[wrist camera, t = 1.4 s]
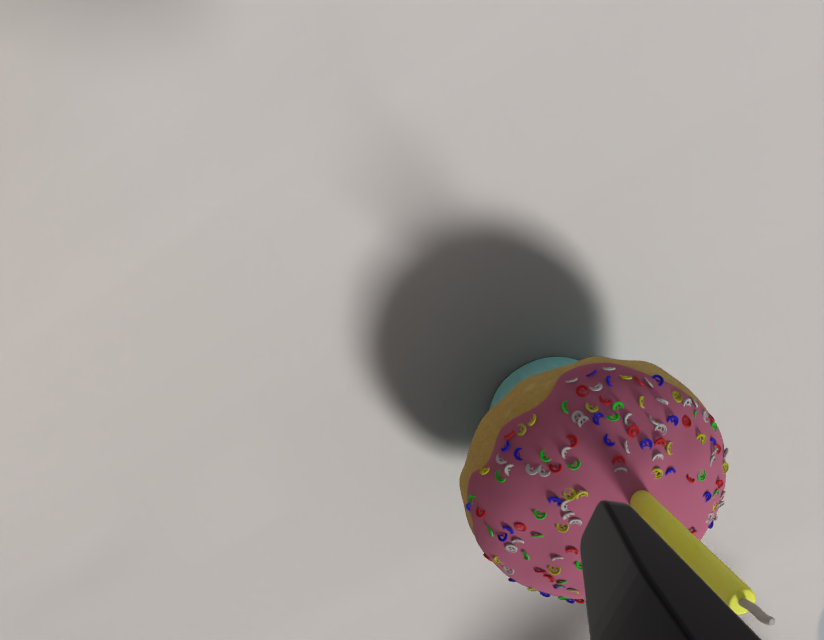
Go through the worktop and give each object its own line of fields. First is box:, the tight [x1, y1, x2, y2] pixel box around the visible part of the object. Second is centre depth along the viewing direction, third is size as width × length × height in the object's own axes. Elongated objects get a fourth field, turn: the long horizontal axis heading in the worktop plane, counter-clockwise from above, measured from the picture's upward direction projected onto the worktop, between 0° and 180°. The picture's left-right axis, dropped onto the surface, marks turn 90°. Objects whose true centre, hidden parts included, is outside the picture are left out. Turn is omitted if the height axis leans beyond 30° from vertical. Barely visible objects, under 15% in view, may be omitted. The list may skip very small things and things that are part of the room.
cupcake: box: [460, 356, 775, 626], centre depth 19 cm, size 9×8×12 cm
